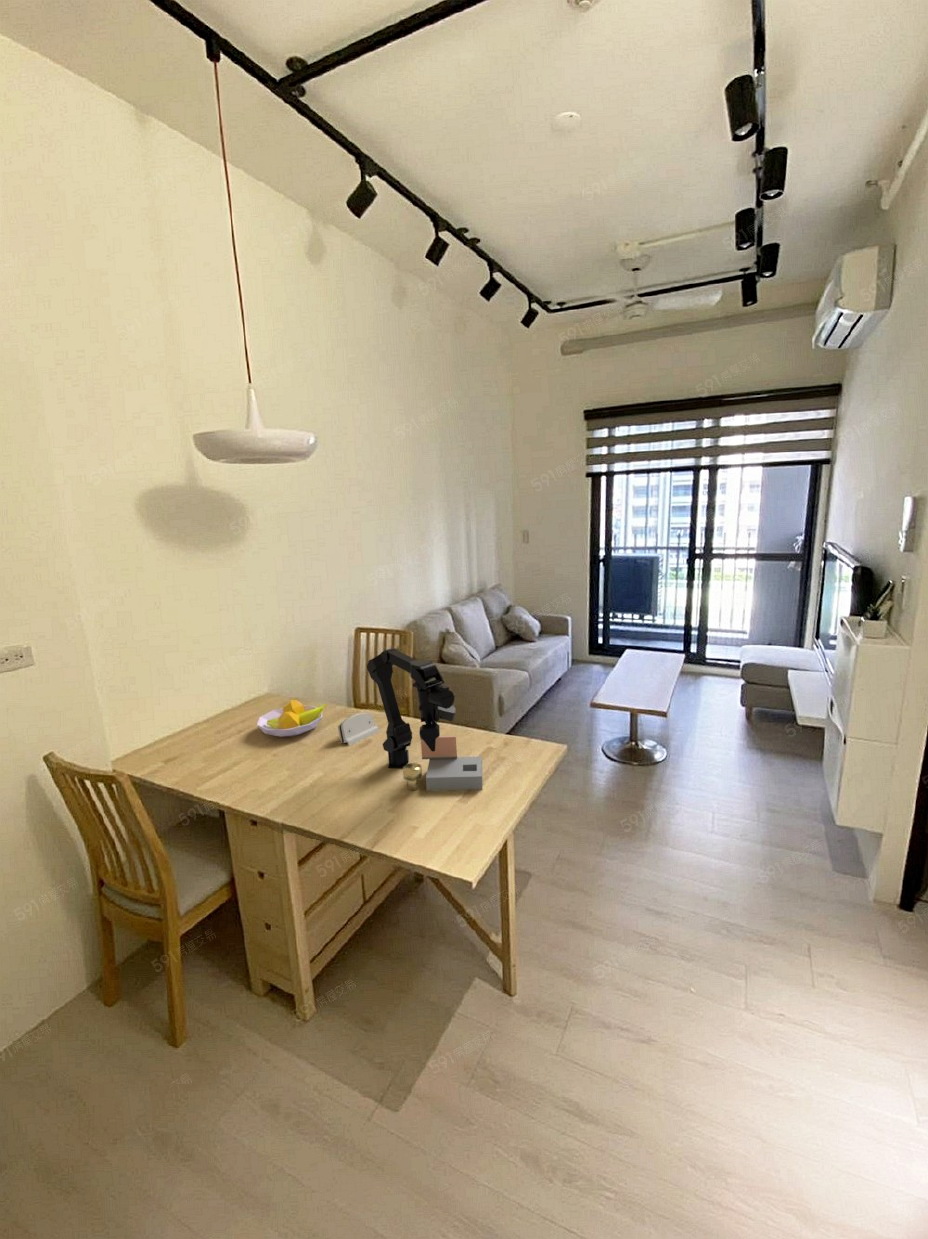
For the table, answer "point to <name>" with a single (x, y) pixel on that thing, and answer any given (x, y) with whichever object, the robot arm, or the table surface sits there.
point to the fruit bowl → (290, 719)
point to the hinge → (357, 728)
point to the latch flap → (440, 748)
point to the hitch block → (454, 774)
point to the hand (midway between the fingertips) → (433, 743)
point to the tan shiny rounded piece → (412, 775)
